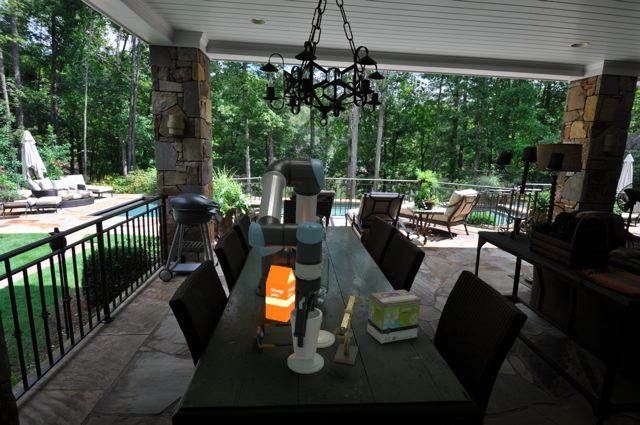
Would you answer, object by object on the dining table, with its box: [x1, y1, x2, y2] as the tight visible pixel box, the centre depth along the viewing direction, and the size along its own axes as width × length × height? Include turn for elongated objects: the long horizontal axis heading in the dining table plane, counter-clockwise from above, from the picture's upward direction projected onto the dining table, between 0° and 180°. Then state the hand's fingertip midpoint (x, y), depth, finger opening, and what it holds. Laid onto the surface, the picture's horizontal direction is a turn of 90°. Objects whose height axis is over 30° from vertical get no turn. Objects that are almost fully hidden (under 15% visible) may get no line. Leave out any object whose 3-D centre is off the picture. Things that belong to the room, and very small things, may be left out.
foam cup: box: [289, 307, 323, 359], centre depth 108 cm, size 10×9×13 cm
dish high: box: [317, 329, 336, 349], centre depth 124 cm, size 11×11×1 cm
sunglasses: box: [256, 322, 294, 353], centre depth 121 cm, size 14×15×5 cm
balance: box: [332, 295, 363, 365], centre depth 113 cm, size 22×6×17 cm, turn 165°
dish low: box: [286, 352, 325, 375], centre depth 109 cm, size 11×11×1 cm
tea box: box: [366, 289, 421, 344], centre depth 128 cm, size 15×10×15 cm, turn 114°
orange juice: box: [265, 265, 296, 323], centre depth 139 cm, size 8×9×20 cm
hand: (306, 347), depth 109 cm, fingers closed on foam cup, 9 cm apart
